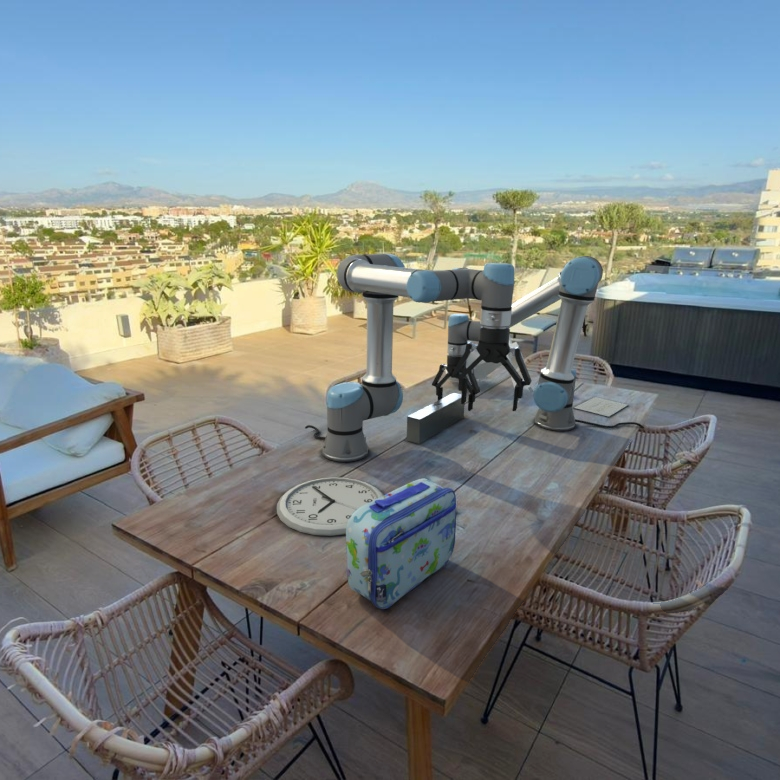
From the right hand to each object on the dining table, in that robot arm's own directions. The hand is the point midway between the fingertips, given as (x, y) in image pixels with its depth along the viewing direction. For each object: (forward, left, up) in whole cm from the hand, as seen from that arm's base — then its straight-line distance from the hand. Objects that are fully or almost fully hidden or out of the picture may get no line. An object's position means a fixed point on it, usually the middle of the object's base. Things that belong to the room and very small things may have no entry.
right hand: (454, 406), depth 208 cm
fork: (+2, +78, -5) cm, 78 cm away
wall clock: (+33, +74, -5) cm, 81 cm away
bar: (+6, +12, -5) cm, 14 cm away
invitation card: (-63, -25, -5) cm, 68 cm away
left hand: (-8, +65, +23) cm, 70 cm away
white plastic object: (-14, -42, -5) cm, 45 cm away
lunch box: (+11, +103, -5) cm, 104 cm away
